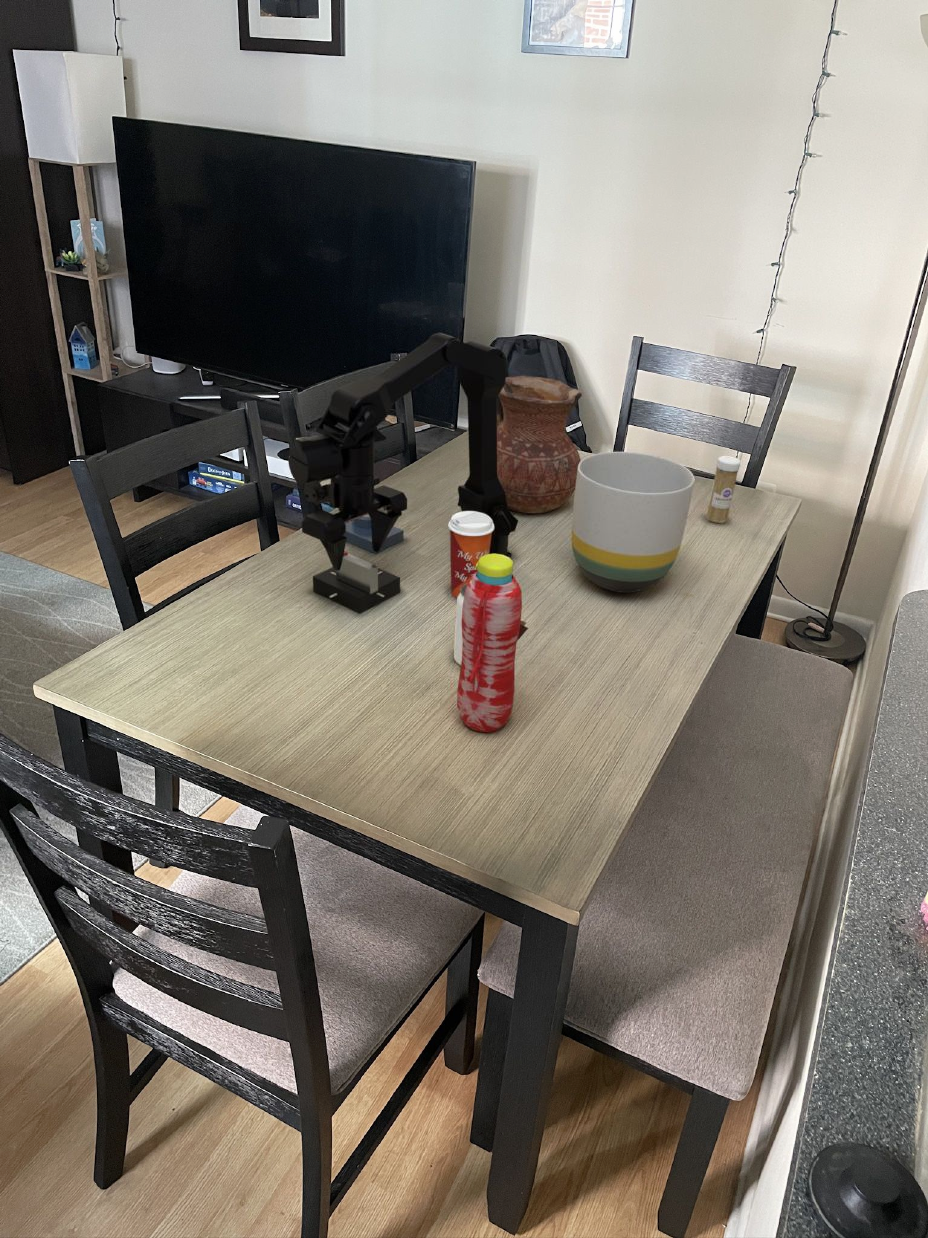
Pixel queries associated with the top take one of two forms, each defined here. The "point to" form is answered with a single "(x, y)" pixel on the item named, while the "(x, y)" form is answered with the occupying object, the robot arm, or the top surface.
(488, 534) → the paper cup
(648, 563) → the planter
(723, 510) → the sprinkles bottle
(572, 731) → the top surface
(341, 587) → the black dial base
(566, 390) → the jug
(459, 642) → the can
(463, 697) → the water bottle
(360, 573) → the grey block red tab
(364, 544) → the blue stepped block
